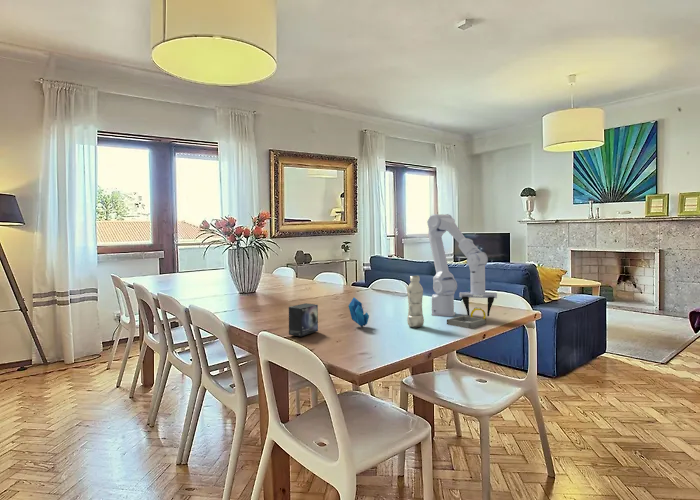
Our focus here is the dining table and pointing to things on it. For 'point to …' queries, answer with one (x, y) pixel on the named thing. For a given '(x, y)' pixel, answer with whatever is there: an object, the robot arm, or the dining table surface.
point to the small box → (303, 319)
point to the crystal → (358, 312)
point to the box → (459, 322)
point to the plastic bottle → (415, 303)
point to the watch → (478, 309)
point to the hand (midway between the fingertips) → (478, 315)
